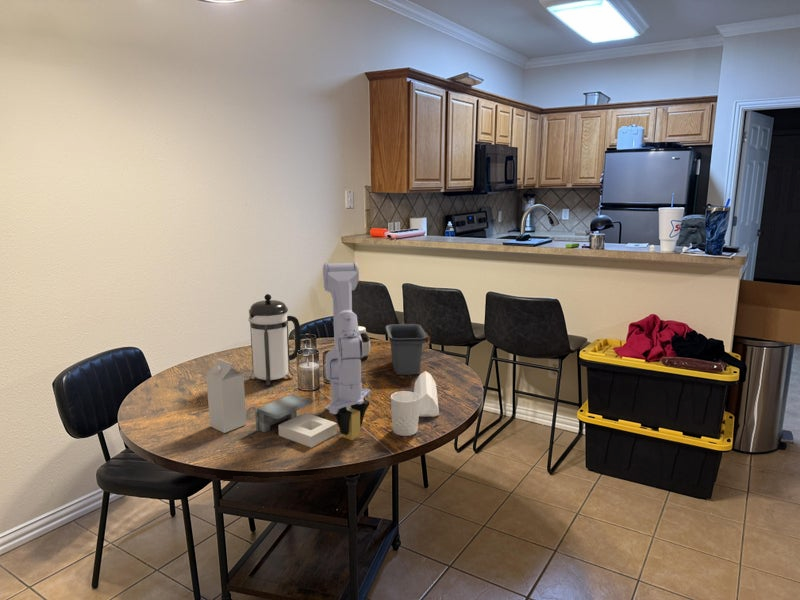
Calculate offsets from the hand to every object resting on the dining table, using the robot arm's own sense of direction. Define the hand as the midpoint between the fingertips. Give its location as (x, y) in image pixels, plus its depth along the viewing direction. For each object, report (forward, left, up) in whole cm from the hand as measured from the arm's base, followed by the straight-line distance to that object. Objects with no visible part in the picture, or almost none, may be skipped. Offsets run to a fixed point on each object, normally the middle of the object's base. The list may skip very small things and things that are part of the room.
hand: (351, 430), depth 144 cm
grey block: (+6, -19, -2) cm, 20 cm away
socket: (+6, -10, -2) cm, 12 cm away
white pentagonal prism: (-31, +4, -2) cm, 31 cm away
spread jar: (-52, -42, -2) cm, 67 cm away
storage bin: (-55, -19, -2) cm, 58 cm away
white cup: (-11, +10, -2) cm, 15 cm away
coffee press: (-19, -51, -2) cm, 54 cm away
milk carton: (+15, -32, -2) cm, 35 cm away
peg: (0, 0, -2) cm, 2 cm away
